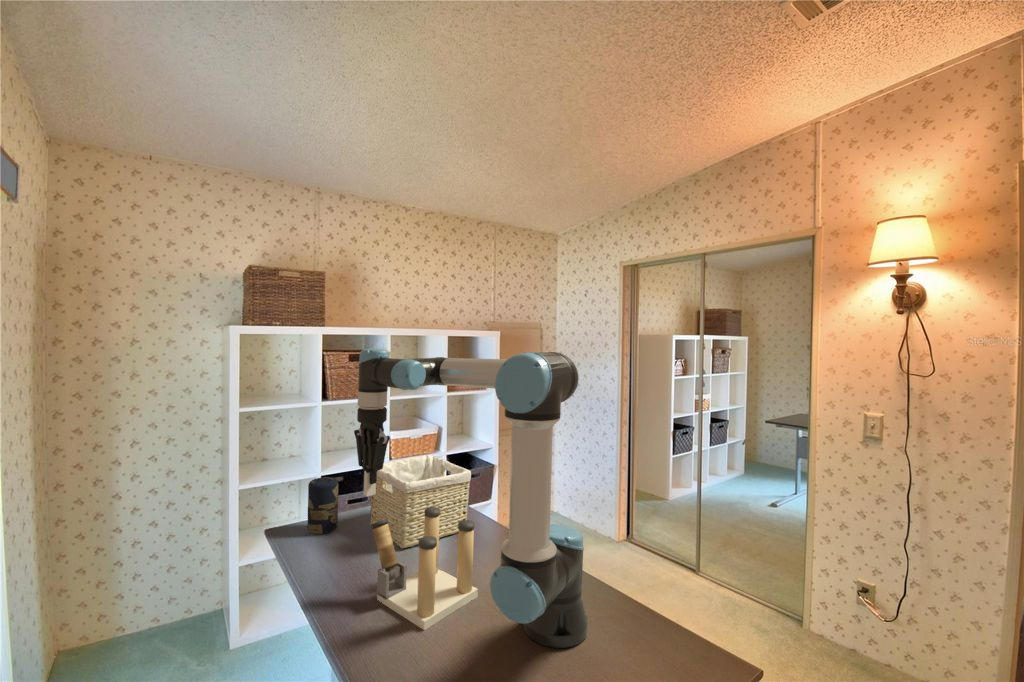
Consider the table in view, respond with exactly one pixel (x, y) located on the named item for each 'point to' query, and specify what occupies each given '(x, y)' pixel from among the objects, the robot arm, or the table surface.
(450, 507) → the basket
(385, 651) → the table surface
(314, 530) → the canister
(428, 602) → the stool seat
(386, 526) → the hinged leg
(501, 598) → the robot arm
